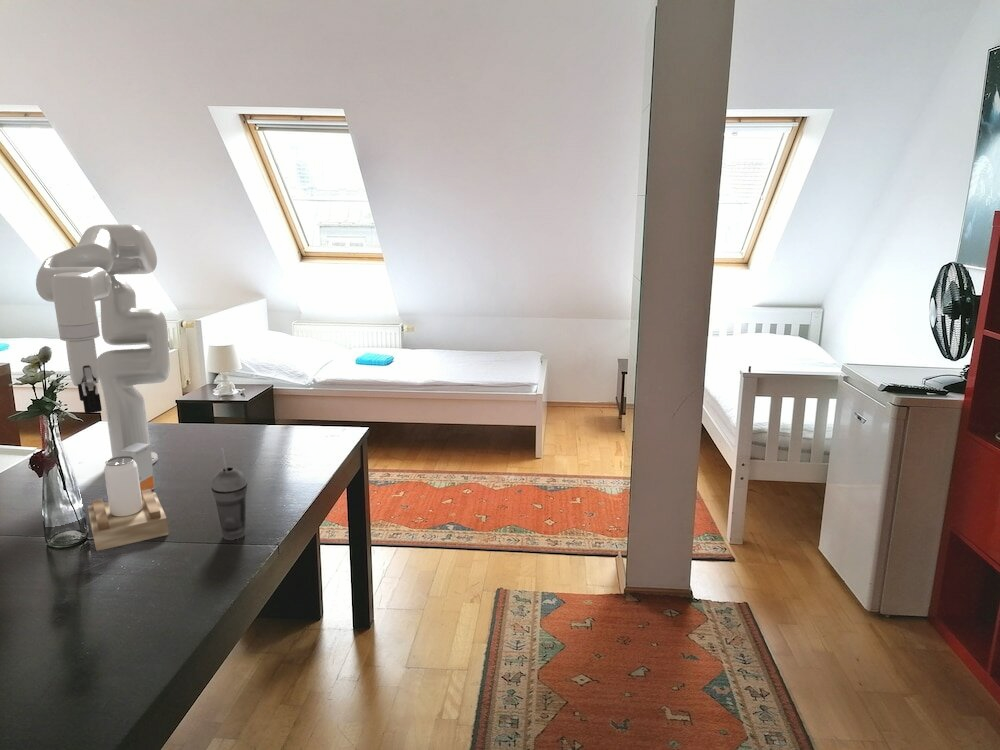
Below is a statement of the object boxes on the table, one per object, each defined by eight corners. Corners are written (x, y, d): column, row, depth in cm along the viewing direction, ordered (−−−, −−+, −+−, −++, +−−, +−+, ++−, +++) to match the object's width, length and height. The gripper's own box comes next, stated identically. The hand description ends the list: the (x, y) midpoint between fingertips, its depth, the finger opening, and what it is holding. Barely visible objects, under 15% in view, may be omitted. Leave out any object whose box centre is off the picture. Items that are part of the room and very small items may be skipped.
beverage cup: (231, 546, 155) (222, 457, 150) (209, 537, 159) (200, 451, 154) (258, 533, 161) (251, 447, 156) (236, 525, 165) (229, 441, 160)
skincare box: (140, 498, 178) (134, 452, 175) (124, 496, 179) (118, 450, 176) (156, 488, 184) (150, 443, 181) (141, 487, 185) (135, 442, 182)
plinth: (89, 522, 166) (86, 499, 164) (157, 508, 173) (154, 486, 172) (96, 551, 153) (92, 527, 151) (168, 534, 160) (165, 511, 159)
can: (110, 520, 158) (103, 467, 155) (110, 508, 163) (103, 458, 160) (143, 514, 161) (137, 462, 158) (142, 502, 166) (135, 453, 163)
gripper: (55, 324, 162) (67, 398, 167) (62, 341, 148) (75, 420, 153) (94, 321, 166) (104, 392, 171) (104, 336, 153) (115, 414, 158)
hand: (90, 405), depth 162 cm, fingers open, 9 cm apart
